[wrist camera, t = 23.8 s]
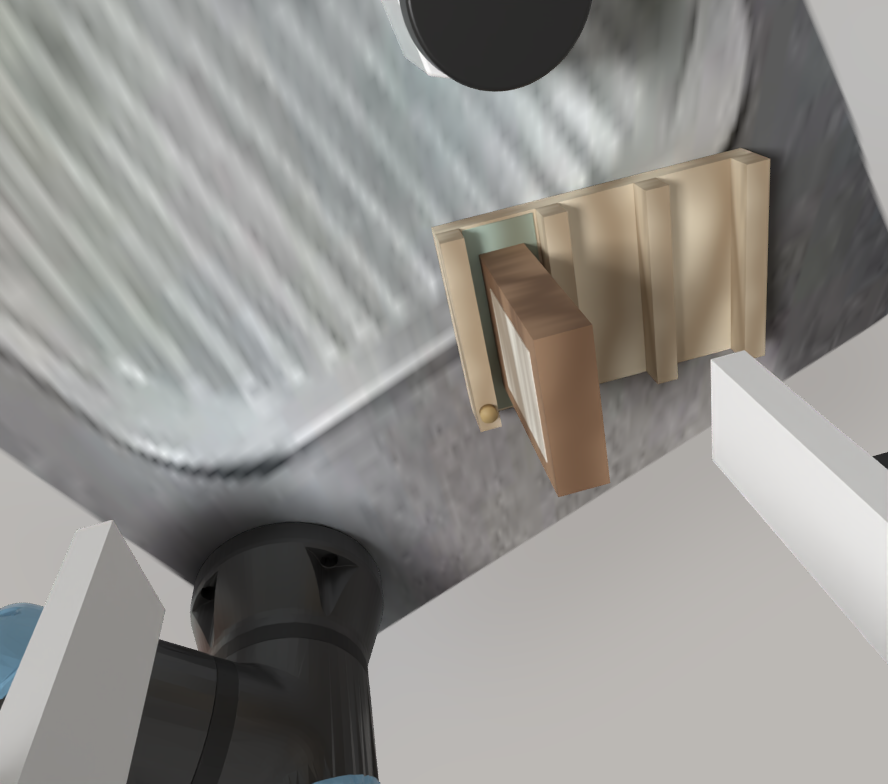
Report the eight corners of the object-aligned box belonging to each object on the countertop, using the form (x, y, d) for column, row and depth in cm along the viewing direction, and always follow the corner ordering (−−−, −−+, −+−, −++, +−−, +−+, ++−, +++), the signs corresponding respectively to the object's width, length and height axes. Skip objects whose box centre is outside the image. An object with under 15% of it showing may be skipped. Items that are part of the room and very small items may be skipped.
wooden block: (503, 386, 51) (557, 497, 40) (477, 254, 46) (532, 340, 35) (544, 374, 52) (610, 482, 40) (524, 242, 46) (593, 324, 35)
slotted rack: (471, 406, 54) (482, 436, 50) (431, 227, 47) (441, 247, 43) (739, 335, 55) (769, 359, 51) (740, 147, 47) (775, 160, 44)
